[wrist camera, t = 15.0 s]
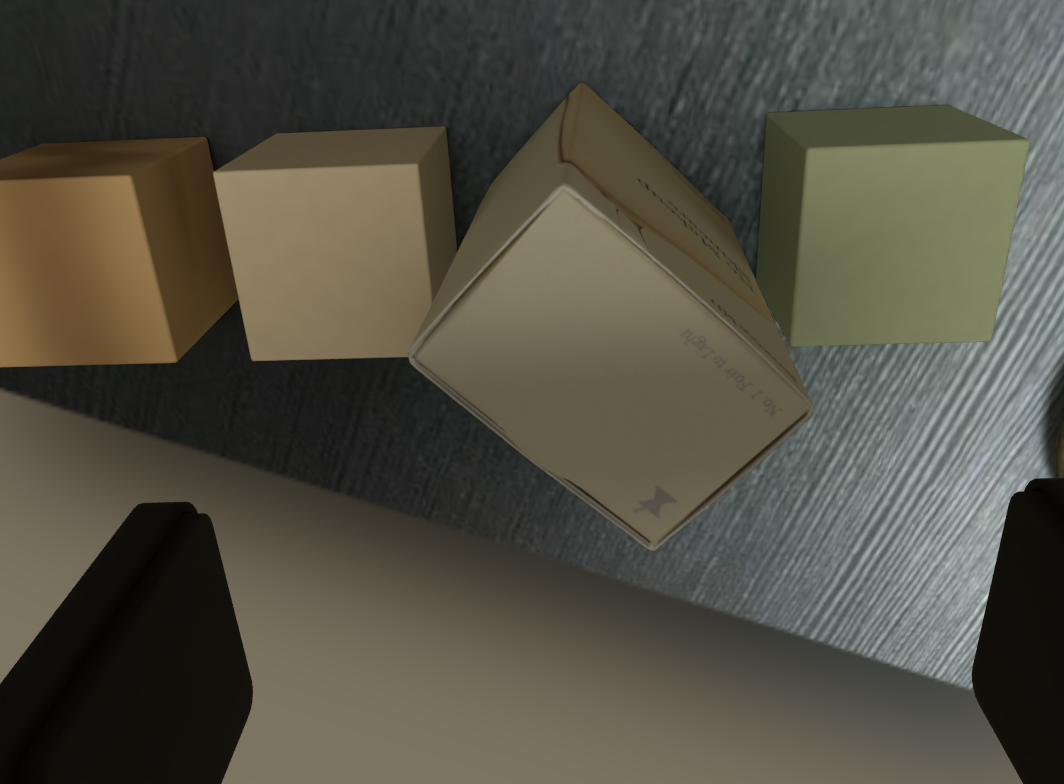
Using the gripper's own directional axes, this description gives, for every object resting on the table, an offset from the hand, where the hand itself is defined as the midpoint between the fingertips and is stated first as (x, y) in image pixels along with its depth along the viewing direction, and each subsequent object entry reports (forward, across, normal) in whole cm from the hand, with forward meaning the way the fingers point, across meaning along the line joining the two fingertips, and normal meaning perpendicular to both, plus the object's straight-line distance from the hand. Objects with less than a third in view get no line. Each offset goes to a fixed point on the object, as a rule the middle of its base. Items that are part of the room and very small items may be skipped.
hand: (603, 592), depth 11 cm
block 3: (+17, -8, 0) cm, 19 cm away
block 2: (+18, +6, 0) cm, 19 cm away
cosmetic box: (+18, -1, 0) cm, 18 cm away
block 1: (+18, +13, 0) cm, 22 cm away
